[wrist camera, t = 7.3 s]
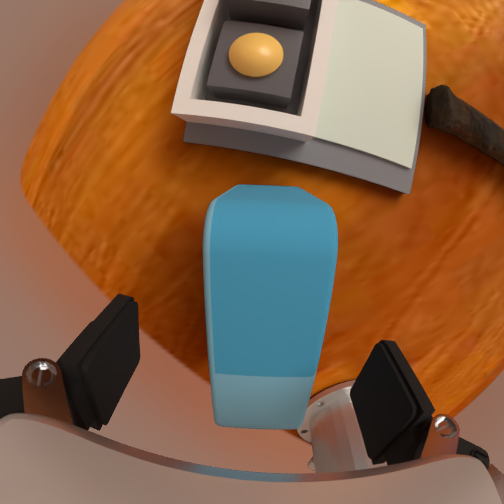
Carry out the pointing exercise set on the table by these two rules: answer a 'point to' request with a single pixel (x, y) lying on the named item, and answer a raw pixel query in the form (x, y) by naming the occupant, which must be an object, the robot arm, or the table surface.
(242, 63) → the tagged breaker
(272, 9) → the grey square block
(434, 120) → the hand tool
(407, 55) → the board
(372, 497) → the robot arm
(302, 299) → the data package
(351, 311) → the table surface
